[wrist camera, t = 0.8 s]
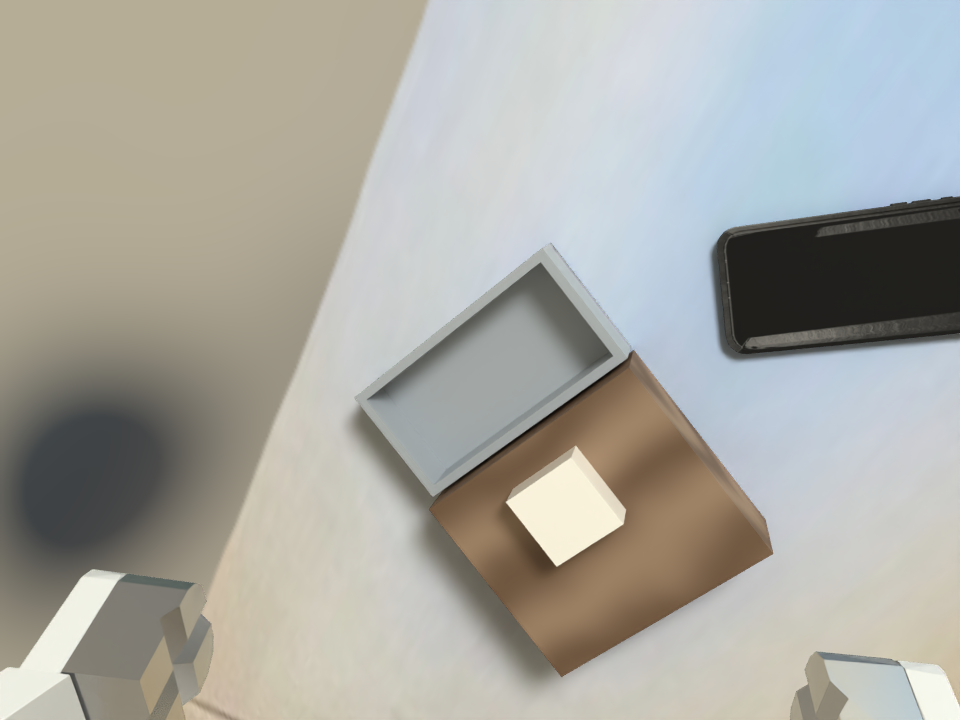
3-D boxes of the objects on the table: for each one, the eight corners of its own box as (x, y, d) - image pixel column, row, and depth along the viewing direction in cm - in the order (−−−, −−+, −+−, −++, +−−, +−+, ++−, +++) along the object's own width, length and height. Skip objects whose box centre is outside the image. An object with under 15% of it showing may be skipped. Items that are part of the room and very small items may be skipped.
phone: (999, 329, 48) (728, 355, 52) (992, 325, 49) (727, 351, 53) (994, 190, 46) (715, 228, 50) (987, 190, 47) (715, 227, 51)
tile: (626, 509, 51) (623, 524, 49) (561, 550, 53) (556, 566, 50) (575, 445, 51) (571, 457, 49) (512, 488, 52) (505, 502, 50)
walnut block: (765, 519, 54) (773, 553, 49) (571, 636, 59) (561, 676, 55) (633, 350, 54) (628, 367, 49) (449, 481, 59) (429, 509, 54)
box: (630, 346, 54) (627, 358, 50) (446, 478, 59) (432, 496, 55) (550, 243, 53) (542, 248, 50) (373, 384, 59) (354, 397, 55)
